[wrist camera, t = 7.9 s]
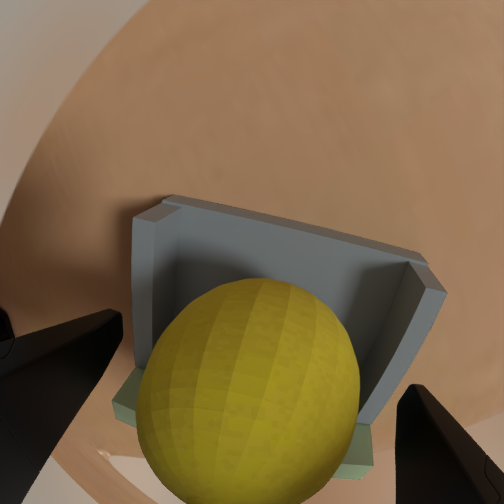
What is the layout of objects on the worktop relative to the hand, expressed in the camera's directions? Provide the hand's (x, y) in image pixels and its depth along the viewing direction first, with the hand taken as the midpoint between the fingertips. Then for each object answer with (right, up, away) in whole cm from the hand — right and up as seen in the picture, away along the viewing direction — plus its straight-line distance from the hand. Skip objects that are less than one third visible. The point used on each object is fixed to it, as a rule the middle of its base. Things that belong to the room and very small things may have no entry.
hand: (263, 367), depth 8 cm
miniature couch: (+1, +1, +4) cm, 4 cm away
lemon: (+1, +1, +3) cm, 3 cm away
